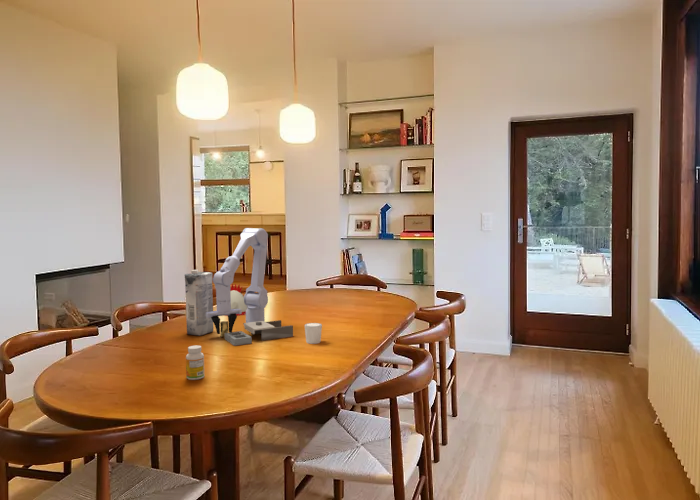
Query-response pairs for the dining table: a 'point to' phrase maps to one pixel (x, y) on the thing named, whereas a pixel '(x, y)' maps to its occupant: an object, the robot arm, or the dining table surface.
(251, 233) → the robot arm
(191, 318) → the juice carton
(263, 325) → the lid
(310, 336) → the white cup
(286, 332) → the housing
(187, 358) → the supplement bottle
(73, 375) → the dining table surface
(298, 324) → the dining table surface
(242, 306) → the kitchen timer
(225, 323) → the pin
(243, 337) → the socket board
